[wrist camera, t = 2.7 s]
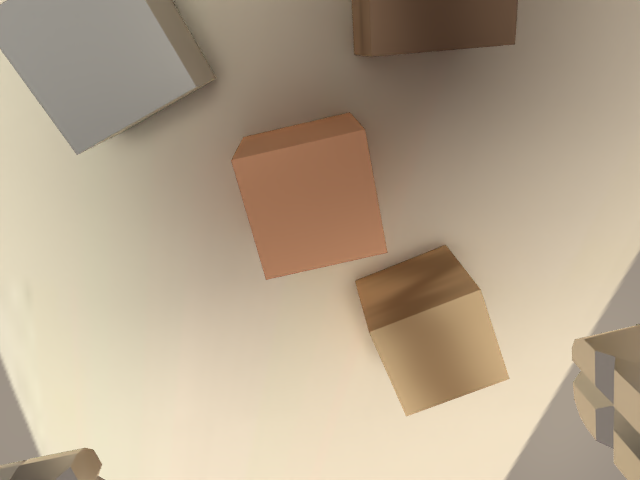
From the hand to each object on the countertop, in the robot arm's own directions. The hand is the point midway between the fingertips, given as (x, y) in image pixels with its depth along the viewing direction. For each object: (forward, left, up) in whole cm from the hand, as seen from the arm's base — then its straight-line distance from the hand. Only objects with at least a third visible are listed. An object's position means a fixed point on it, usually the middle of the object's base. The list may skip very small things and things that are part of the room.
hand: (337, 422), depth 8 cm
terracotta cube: (0, 0, -16) cm, 16 cm away
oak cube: (-4, +8, -16) cm, 19 cm away
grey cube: (+6, -7, -16) cm, 19 cm away
